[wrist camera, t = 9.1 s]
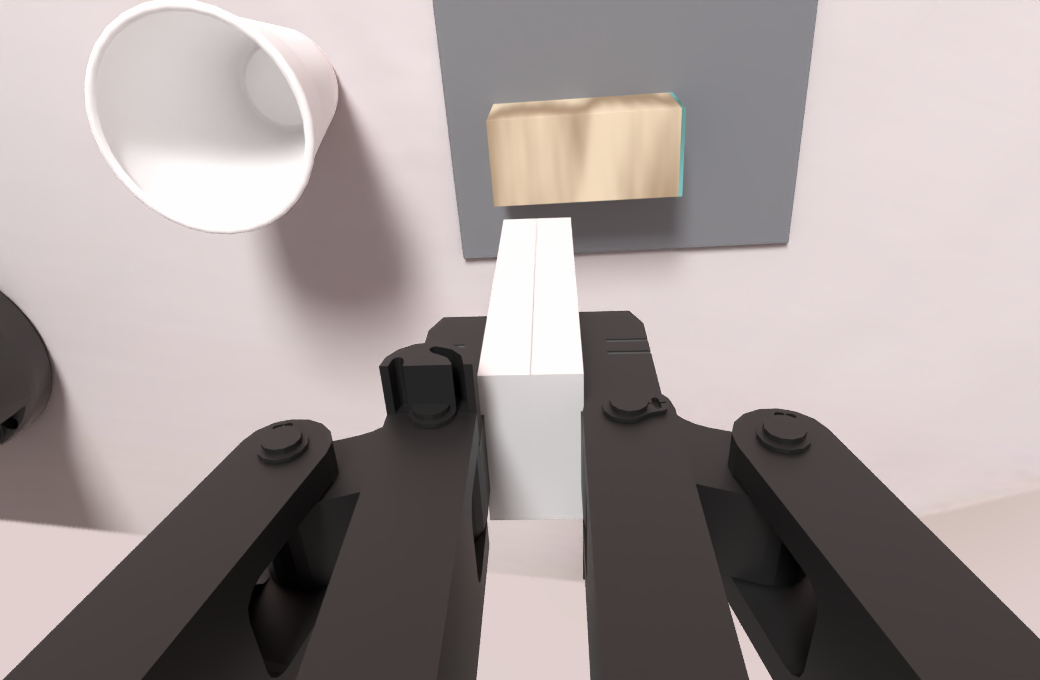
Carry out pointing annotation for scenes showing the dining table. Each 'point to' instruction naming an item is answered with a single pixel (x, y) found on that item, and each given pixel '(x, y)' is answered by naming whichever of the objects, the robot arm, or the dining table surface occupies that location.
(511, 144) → the beech block
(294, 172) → the cup
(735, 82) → the mat
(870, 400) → the dining table surface
